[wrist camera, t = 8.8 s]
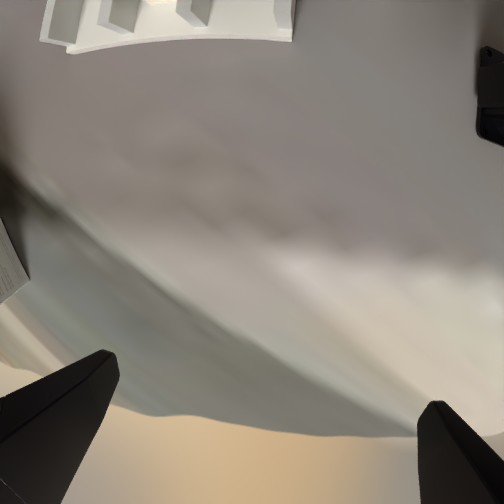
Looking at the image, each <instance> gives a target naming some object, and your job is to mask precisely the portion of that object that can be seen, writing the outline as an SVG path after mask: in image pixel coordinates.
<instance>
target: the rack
mask: <svg viewBox="0 0 504 504" xmlns="http://www.w3.org/2000/svg"><path fill="white" fill-rule="evenodd" d="M295 4H296V0H177V2H169V3H161V4H154V5H150V4H148V3H147V2H145V1H144V0H48V2H47V6H46V10H45V15H44V19H43V24H42V29H41V34H40V40H39V41H42V42H48V43H53V44H58V45H63V46H67V51H66V53H70V54H79V53H83V52H88V51H93V50H98V49H104V48H110V47H116V46H123V45H130V44H138V43H146V42H156V41H168V40H183V39H257V40H273V41H285V42H292V36H293V26H294V15H295Z"/></svg>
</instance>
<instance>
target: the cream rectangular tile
mask: <svg viewBox="0 0 504 504" xmlns="http://www.w3.org/2000/svg"><path fill="white" fill-rule="evenodd" d="M144 1H145V2H147V3H148V4H150V5H154V4H161V3H169V2H177V0H144Z"/></svg>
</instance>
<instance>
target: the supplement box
mask: <svg viewBox="0 0 504 504" xmlns="http://www.w3.org/2000/svg"><path fill="white" fill-rule="evenodd" d="M29 281H30V280H29V278H28V276H27V274H26V272H25V270H24V268H23V266H22V264H21V262H20V260H19V258H18V256H17V254H16V252H15V250H14V248H13V246H12V243H11V241H10V239H9V237H8V234H7V232H6V230H5V227H4V225H3V223H2V220H1V218H0V305H1V304H2V303H3V302H4V301H6V300H7V299H8V298H10V297H11V296H12V295H13V294H14V293H16V292H17V291H18V290H20V289H21V288H22V287H23V286H25V285H26V284H27V283H28V282H29Z"/></svg>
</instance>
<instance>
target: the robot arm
mask: <svg viewBox="0 0 504 504" xmlns="http://www.w3.org/2000/svg"><path fill="white" fill-rule="evenodd" d="M486 51H487V52H488V53H489V56H488V55H487V53H486ZM478 105H479V107H478V118H477V127H476V132H477V135H478V136H479V137H480V138H482V139H484V140H487V141H489V142H492V143H495V144H497V145H500V146H502V147H504V54H503V53H501V52H499V51H497V50H495V49H493V48H491V47H488V46H485V47H482V48H481V64H480V69H479V86H478ZM483 128H484V129H485V134H483V132H482V129H483ZM119 377H120V373H119V368H118V363H117V358H116V355H115V354H114V353H113V352H110V351H107V350H103V349H102V350H99V351H97V352H95V353H93V354H91V355H89V356H87V357H85V358H83V359H81V360H79V361H77V362H75V363H72V364H70V365H68V366H66V367H64V368H62V369H60V370H58V371H56V372H54V373H52V374H50V375H48V376H46V377H44V378H41V379H40V380H37V381H35V382H33V383H31V384H29V385H27V386H25V387H23V388H21V389H18V390H16V391H14V392H12V393H10V394H8V395H6V396H5V397H1V398H0V504H61V502H62V500H63V498H64V496H65V494H66V492H67V490H68V488H69V485H70V483H71V481H72V479H73V477H74V475H75V473H76V471H77V469H78V467H79V466H80V463H81V462H82V460H83V458H84V456H85V454H86V452H87V449H88V448H89V446H90V444H91V442H92V440H93V438H94V436H95V435H96V433H97V430H98V429H99V427H100V425H101V423H102V421H103V419H104V416H105V414H106V411H107V408H108V406H109V403H110V401H111V398H112V396H113V393H114V391H115V388H116V386H117V383H118V381H119ZM417 437H418V475H419V486H420V499H421V504H504V461H503V460H502V459H501V458H500V457H499V455H498V454H497V453H495V451H494V450H493V449H492V448H491V447H490V446H489V445H488V444H487V443H486V442H485V441H484V440H483V439H482V438H481V437H480V436H479V435H478V434H477V433H476V432H475V431H474V430H473V429H472V428H471V427H470V426H469V425H468V424H467V423H466V422H465V421H464V420H463V419H462V418H461V417H460V416H459V415H458V414H457V413H456V412H455V411H454V410H453V409H452V408H451V407H450V406H449V405H448V404H447V403H446V402H444V401H442V400H439V401H431V402H430V403H429V404H428V405H427V407H426V408H425V410H424V411H423V413H422V414H421V416H420V417H419V420H418V423H417Z"/></svg>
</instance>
